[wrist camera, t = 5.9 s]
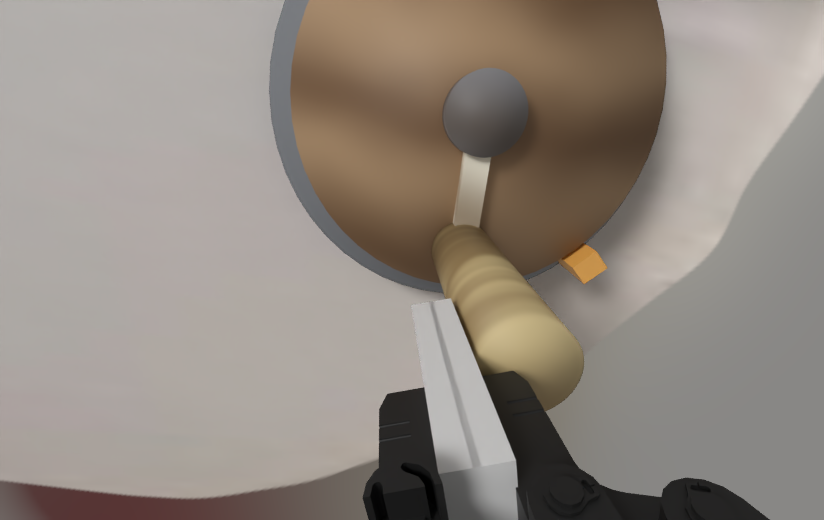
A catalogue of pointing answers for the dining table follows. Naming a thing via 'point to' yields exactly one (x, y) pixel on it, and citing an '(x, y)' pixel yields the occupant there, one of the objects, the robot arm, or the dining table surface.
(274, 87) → the dial base
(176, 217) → the dining table surface
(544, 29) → the dial
